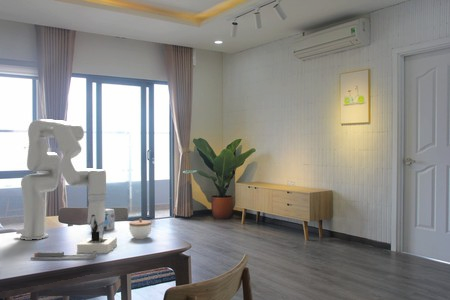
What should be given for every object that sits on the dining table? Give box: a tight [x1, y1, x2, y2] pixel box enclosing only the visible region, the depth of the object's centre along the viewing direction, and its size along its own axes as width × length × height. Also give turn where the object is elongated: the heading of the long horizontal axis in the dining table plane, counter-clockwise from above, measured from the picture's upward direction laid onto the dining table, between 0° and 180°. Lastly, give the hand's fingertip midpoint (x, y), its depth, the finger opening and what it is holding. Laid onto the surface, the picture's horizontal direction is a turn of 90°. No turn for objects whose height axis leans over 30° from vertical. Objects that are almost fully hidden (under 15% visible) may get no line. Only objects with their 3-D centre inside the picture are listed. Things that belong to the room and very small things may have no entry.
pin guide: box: [30, 251, 97, 261], centre depth 161 cm, size 25×4×2 cm, turn 89°
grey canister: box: [92, 222, 104, 243], centre depth 176 cm, size 4×4×9 cm
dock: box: [76, 237, 118, 254], centre depth 176 cm, size 13×13×4 cm
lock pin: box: [33, 251, 65, 257], centre depth 161 cm, size 11×2×2 cm, turn 89°
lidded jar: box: [129, 218, 152, 240], centre depth 198 cm, size 11×11×9 cm
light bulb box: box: [103, 207, 116, 232], centre depth 219 cm, size 11×7×11 cm, turn 148°
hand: (97, 239), depth 176 cm, fingers closed on grey canister, 4 cm apart
